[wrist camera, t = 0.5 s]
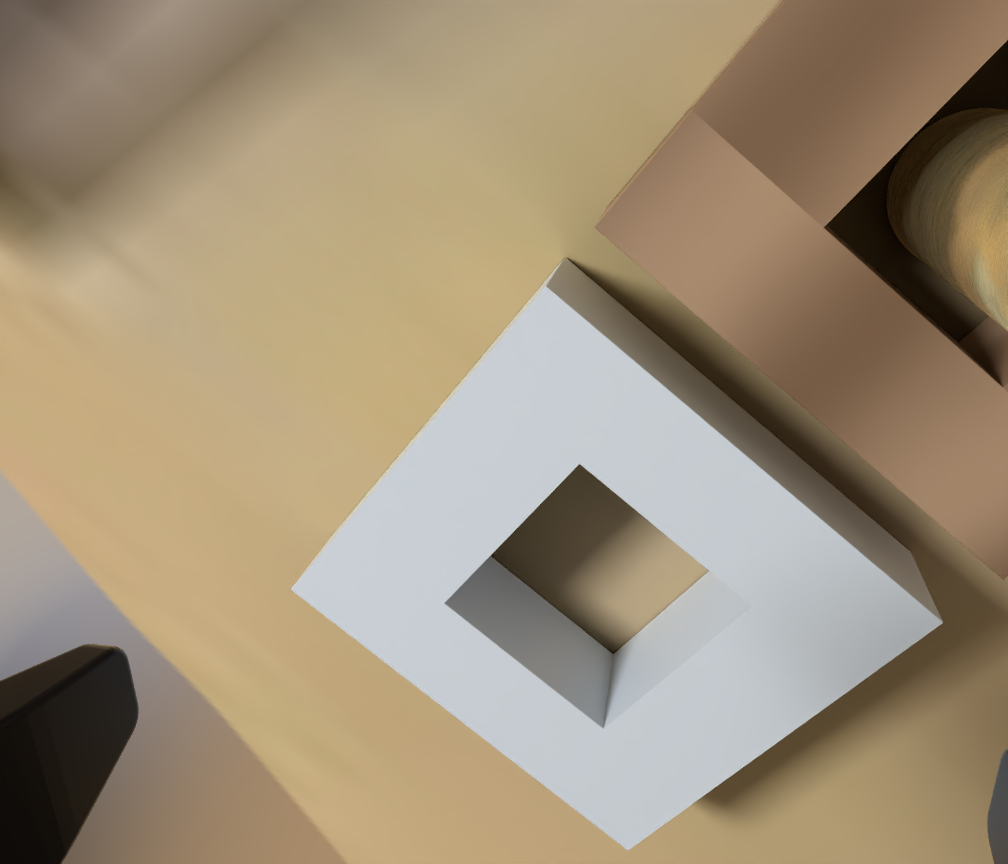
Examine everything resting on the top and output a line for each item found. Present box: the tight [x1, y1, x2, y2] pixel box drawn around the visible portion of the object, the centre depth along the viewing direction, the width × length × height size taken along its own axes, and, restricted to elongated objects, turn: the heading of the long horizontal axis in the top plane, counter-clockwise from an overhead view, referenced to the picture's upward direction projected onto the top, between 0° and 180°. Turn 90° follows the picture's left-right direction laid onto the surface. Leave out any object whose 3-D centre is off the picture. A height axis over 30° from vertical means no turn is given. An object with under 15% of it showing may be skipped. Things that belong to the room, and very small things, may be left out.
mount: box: [595, 0, 1008, 579], centre depth 17 cm, size 11×10×3 cm
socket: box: [291, 257, 943, 850], centre depth 21 cm, size 11×10×3 cm
